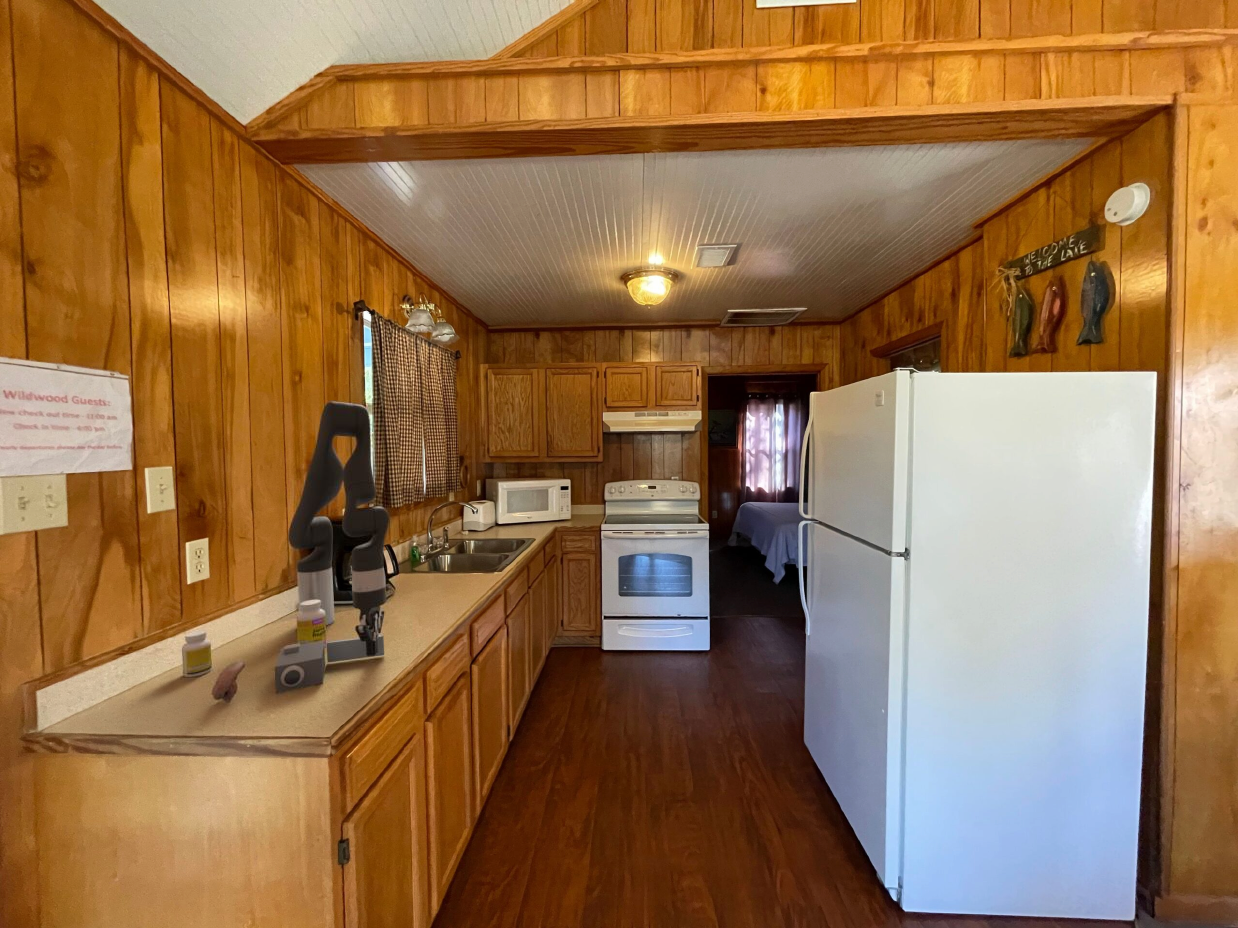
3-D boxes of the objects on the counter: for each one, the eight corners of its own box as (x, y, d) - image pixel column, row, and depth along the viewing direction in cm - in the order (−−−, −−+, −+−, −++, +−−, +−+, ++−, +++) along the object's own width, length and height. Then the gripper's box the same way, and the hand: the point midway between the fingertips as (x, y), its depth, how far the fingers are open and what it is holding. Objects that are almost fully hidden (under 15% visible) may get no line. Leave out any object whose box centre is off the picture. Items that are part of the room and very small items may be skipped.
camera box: (282, 672, 121) (281, 643, 121) (325, 663, 126) (324, 636, 125) (275, 696, 109) (273, 665, 109) (322, 686, 114) (321, 656, 113)
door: (327, 662, 125) (326, 642, 125) (329, 660, 127) (328, 640, 126) (383, 655, 129) (383, 636, 129) (384, 652, 130) (383, 634, 130)
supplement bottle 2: (313, 654, 132) (310, 606, 131) (292, 653, 133) (289, 605, 132) (332, 644, 138) (330, 598, 138) (312, 643, 139) (309, 597, 139)
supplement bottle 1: (217, 669, 124) (215, 630, 124) (192, 679, 119) (190, 638, 119) (202, 666, 126) (200, 628, 125) (177, 676, 121) (175, 636, 120)
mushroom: (227, 710, 104) (225, 673, 104) (199, 710, 104) (197, 673, 104) (256, 692, 111) (254, 657, 111) (230, 692, 112) (228, 657, 112)
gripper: (374, 592, 119) (377, 664, 119) (393, 579, 132) (396, 643, 133) (341, 594, 118) (344, 666, 119) (364, 580, 131) (367, 645, 132)
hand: (372, 654), depth 126 cm, fingers closed
